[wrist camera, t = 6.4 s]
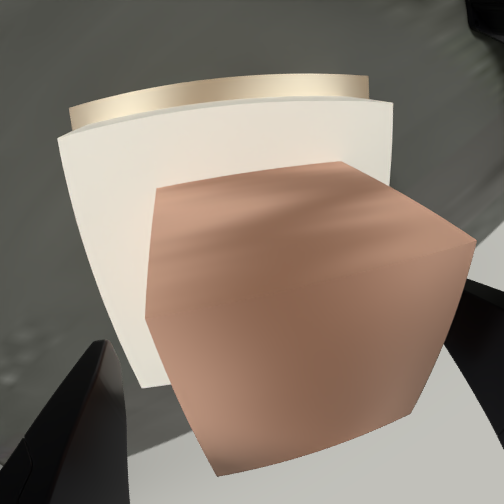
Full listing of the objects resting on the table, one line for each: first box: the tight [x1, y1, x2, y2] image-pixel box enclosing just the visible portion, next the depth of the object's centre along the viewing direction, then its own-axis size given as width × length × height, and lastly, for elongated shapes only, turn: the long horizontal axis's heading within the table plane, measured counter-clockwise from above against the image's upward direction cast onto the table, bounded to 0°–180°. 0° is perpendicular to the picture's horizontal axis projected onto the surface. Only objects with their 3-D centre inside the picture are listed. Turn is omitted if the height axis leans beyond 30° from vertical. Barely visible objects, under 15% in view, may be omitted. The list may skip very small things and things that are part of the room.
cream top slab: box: [57, 96, 393, 388], centre depth 12 cm, size 10×10×4 cm
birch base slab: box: [69, 74, 369, 131], centre depth 15 cm, size 12×12×4 cm
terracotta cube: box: [145, 161, 477, 477], centre depth 8 cm, size 6×6×6 cm
